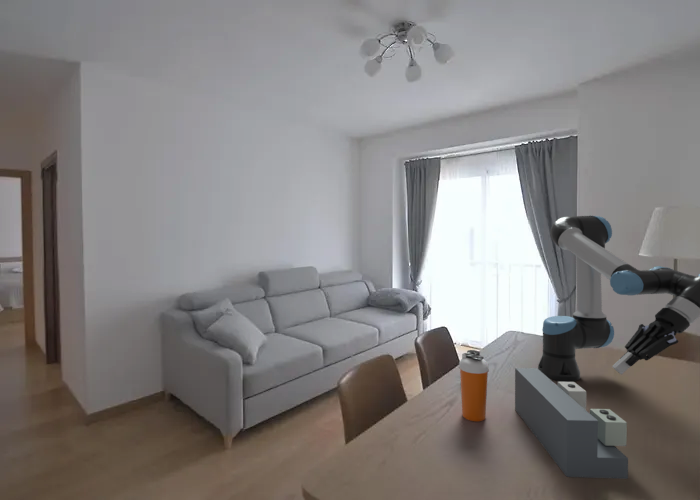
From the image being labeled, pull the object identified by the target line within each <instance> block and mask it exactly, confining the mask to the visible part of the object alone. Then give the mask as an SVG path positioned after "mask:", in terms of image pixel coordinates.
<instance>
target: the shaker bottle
mask: <svg viewBox="0 0 700 500" xmlns="http://www.w3.org/2000/svg"><path fill="white" fill-rule="evenodd" d="M458 365H459V367H458V368H459V375H460V390H461V391H460V392H461V393H460V394H461V395H460V396H461V412H462V413H461V414H462V417H463V418H464V419H465V420H468V421H470V422H483V421H485V420H486V413H487V409H486V408H487V393H488V378H489V377H488V375H489V373H488V372H489V371H490V370H489V363H488V361H486V360H485V358H484V356H482V355H481V354H480V355H476V354H475V352H468V353H467V352H463V353H462V354H461V359H460V360H459V363H458Z"/></svg>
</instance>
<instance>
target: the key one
mask: <svg viewBox="0 0 700 500" xmlns="http://www.w3.org/2000/svg"><path fill="white" fill-rule="evenodd" d="M556 385H557V386H558V387H559V388H561V389H562V390H563V391H564V392H565V393H566V394H568V395H569V396H570V397H571V398H572V399H573V400H575V401H576V402H577V403H578V404H579V405H580V406H581V407H583V408H584V409H585V410H586V411H587V391H586V390H585V389H584V388H583V387H581V386H580V385H579V384H577V383H576V381H573V382H564V381H557V384H556Z"/></svg>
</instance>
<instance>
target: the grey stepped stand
mask: <svg viewBox="0 0 700 500" xmlns="http://www.w3.org/2000/svg"><path fill="white" fill-rule="evenodd" d="M514 369H515V370H514V379H515V380H514V390H515V391H514V410H515V412H516V413H517V414H518V415H519V417H520V418H521V419H522V420H523V422H524V423H525V424H526V426H527V427H528V429H529V430H530V431H531V433H532V434H533V435H534V436H535V437H536V439H537V440H538V442H539V443H540V444H541V446H542V447H543V448H544V449H545V450H546V452H547V453H548V454H549V456H550V457H551V458H552V459H553V461H554V463H556V465H557V466H558V467H559V469H560V470H561V471H562V473H563V474H564V475H565V476H566V477H567V478H568V477H569V478H590V479H591V478H592V479H593V478H595V479H596V478H597V479H625V480H627V479H628V478H629V457H627V456H626V455H625V454H624V453H623V452H622V451H621V450H620V449H618V447H617V446H605V445H604V444H603V443H602V442H601V441H600V440H599V439H598V420H597V419H595V418H594V417H593V416H592V415H591V414H590V412H589V411H587V409H586V410H585V409H584V408H583V407H581V406H580V405H579V404H578V403H577V402H576V401H575V400H573V399H572V398H571V397H570V396H569V395H568V394H566V393H565V392H564V391H563V390H562V389H561V388H559V387H558V386H557V384H556V383H555V382H554V380H553V381H552V379H549V378H548V377H547V376H546V375H544V374H543V373H542V372H541V371H540V370H539V369H538V367H515V368H514Z"/></svg>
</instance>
